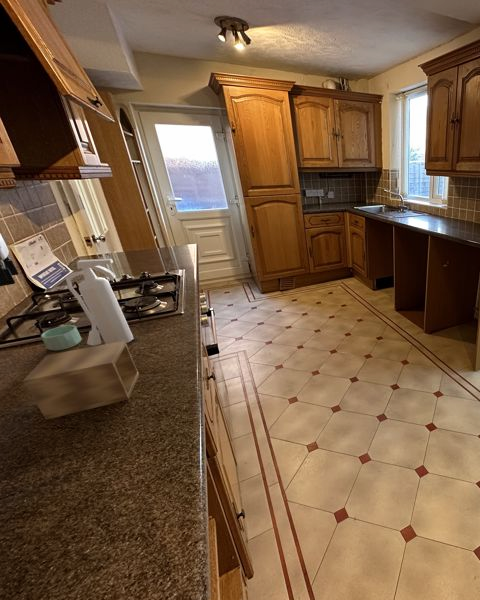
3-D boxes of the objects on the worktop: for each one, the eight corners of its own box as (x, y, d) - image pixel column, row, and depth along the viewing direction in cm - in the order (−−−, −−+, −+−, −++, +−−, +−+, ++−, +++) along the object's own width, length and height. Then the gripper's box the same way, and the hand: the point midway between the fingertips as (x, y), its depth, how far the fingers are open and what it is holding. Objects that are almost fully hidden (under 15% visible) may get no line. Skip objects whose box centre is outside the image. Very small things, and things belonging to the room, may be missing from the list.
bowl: (43, 354, 89) (35, 339, 88) (55, 341, 95) (48, 328, 94) (76, 347, 92) (69, 333, 90) (86, 336, 98) (79, 323, 96)
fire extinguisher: (93, 342, 95) (55, 261, 85) (143, 332, 100) (113, 254, 90) (85, 353, 89) (44, 268, 79) (138, 342, 95) (106, 260, 84)
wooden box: (46, 419, 67) (22, 381, 63) (66, 391, 75) (46, 355, 71) (128, 399, 72) (112, 362, 68) (139, 374, 80) (125, 340, 76)
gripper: (-46, 211, 80) (-9, 275, 87) (-64, 219, 69) (-19, 293, 76) (-1, 207, 85) (31, 269, 92) (-10, 215, 73) (27, 284, 81)
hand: (8, 280), depth 84 cm, fingers open, 9 cm apart
